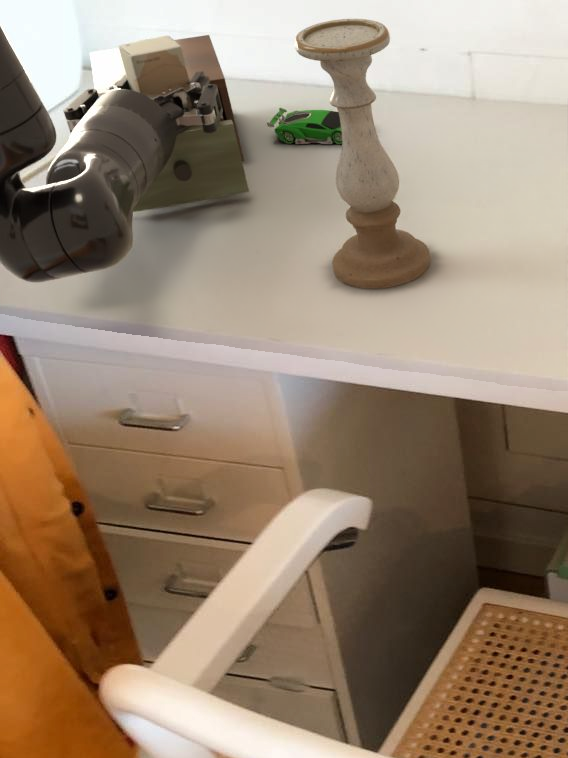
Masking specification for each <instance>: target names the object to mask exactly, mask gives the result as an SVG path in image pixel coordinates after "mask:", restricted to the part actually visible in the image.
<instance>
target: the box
mask: <svg viewBox="0 0 568 758" xmlns="http://www.w3.org/2000/svg"><path fill="white" fill-rule="evenodd" d="M175 40H176V39H174V38H172V37H171V36H170V35H161V36H157V37H153V38H145V39H141V40H138V41H134V42H133V41H132V42H129V43H124V44H119V45H118V46H117V48H119V51H120V54H121V58H122V62H123V65H124V69H125V73H126V76H127V80H128V84H129V88H130V90H132V91H136V92H139V93H141V94H144V95H148V94H150V93H153V94H156V93H158V92H160V91H162V90H164V89H167V88H169V87H171V86H175V87H183V86H185V85H187V83H188V82H189V77H188V73H187V69H186V64H185V60H184V56H183V52H182V48H181V46H180V45H179V44H178V43H177V42H176V41H175ZM187 100H188V104H189V107H190V106H192V103H191V99H190V95H189V96H188V97H187ZM170 101H172V99H170ZM172 102H173V101H172ZM191 126H195V125H191ZM187 127H189V126H187Z"/></svg>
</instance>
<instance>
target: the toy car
mask: <svg viewBox="0 0 568 758" xmlns="http://www.w3.org/2000/svg"><path fill="white" fill-rule="evenodd" d="M278 110H279V111H277V113H276V114H275V115H273V116H272V118H271V120H270V121H269V122H266V126H267V127H268V128H274V127H275V124H277V123H278V124H277V126H276V127H275V128H274V133H275V134H276V136H277V139H279V140H280V141H281V142H284V143H285V144H287V145H291V144H293V143H295V145H305V144H307V145H309V144H311V143H312V144H321V145H333V144H334V143H335V144H336V145H342V131H341V124H340V117H339V113H338V111H334V110H329V109H328V110H327V109H305V110H304V109H303V110H294V111H291V112H289V113H287V111H288V110H287V109H285V108H283V107H279V108H278ZM284 113H286V115H285V116H284ZM281 117H282V118H281ZM278 121H279V122H278Z"/></svg>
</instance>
